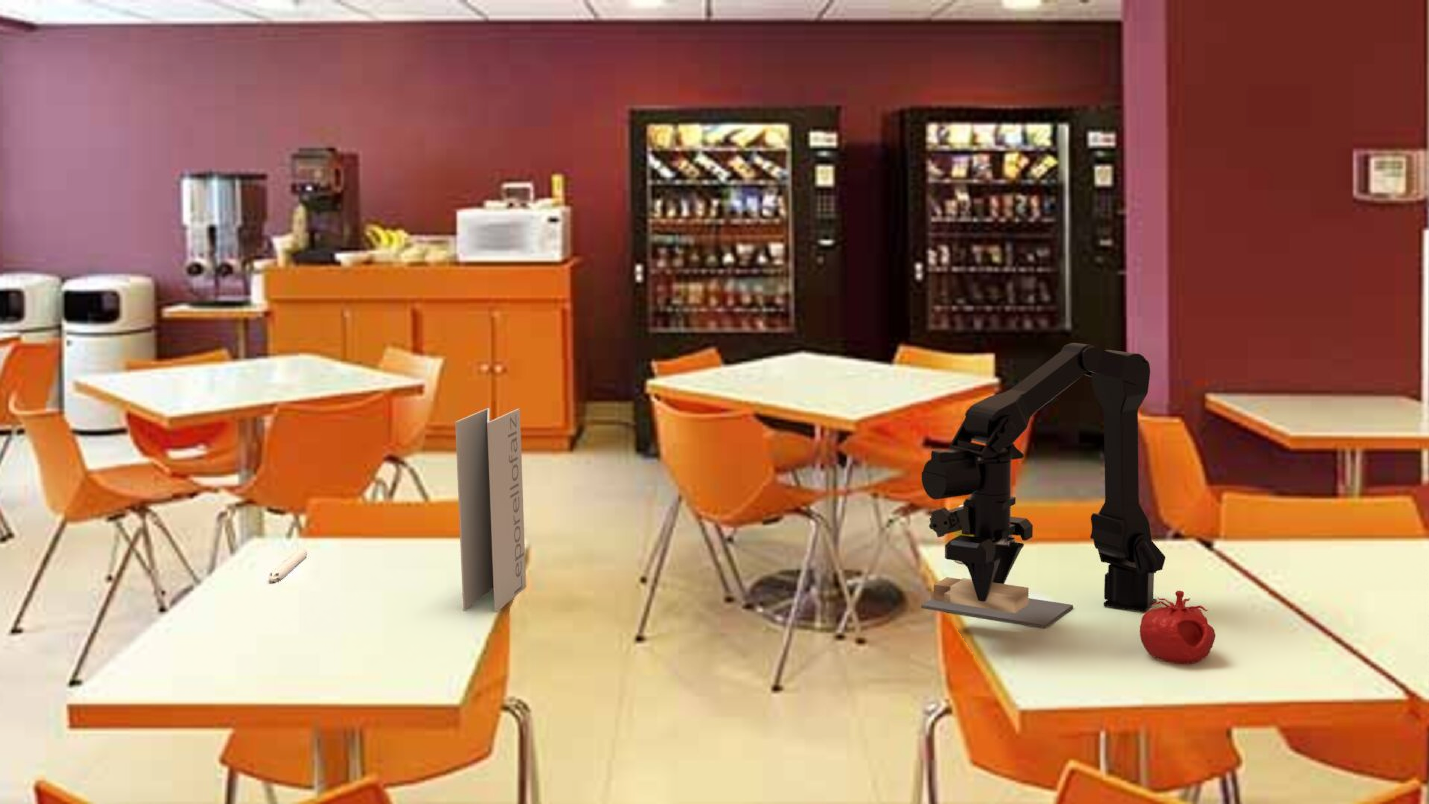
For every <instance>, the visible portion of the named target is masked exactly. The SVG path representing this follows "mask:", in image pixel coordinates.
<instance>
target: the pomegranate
mask: <svg viewBox="0 0 1429 804" xmlns="http://www.w3.org/2000/svg"><path fill="white" fill-rule="evenodd" d="M1184 595H1185V592H1184V591H1182V590H1176V591H1175V596H1176V600H1175V603H1174V602H1172V601H1169V600H1167V599H1166V598H1159V597H1157V599H1158V600H1159V601H1157V602H1156V603H1155V604H1153V605H1149V606H1152V607H1153V606H1156V605H1158V604H1162V605H1163V606H1162V607H1161V606H1160V607H1156V608H1152V609H1150V610H1149V609H1148V610H1147V611H1145V612H1144V613H1143V615H1142V617H1141V622H1140V625H1139V637H1140V640H1141V644H1142V645H1143V647H1144V649H1145V651H1146V652H1147V653H1148V654H1149V655H1150V656H1151V657H1154V658H1155V659H1157V660H1160V661H1164V662H1167V663H1173V664H1178V665H1179V664H1181V665H1191V664H1195V663H1198V662H1200V661H1201V660H1204V659H1206V658H1207V657H1208V655H1210V653H1211V650H1212V649H1213V646H1214V643H1215V640H1216V632H1215V629H1214V628H1213V626H1212V625H1211V624H1209V621H1208V619H1207V616H1205V615H1204V613H1203V612H1202V610H1203V611H1204V612H1208V611H1209V609H1206V608H1205V607H1204V606H1203V605H1196V606H1186V603H1187V602H1190V599H1191V598H1190V597H1188V598H1184ZM1183 598H1184V599H1183ZM1164 601H1165V602H1167V603H1165V602H1164ZM1168 604H1169V605H1168ZM1201 609H1202V610H1201Z"/></svg>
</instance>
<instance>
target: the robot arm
mask: <svg viewBox="0 0 1429 804" xmlns="http://www.w3.org/2000/svg"><path fill="white" fill-rule="evenodd" d="M1084 376H1088V377H1091V383H1092V390H1093V393H1094V395H1095V396H1096V398H1097V400H1098V402H1099V405H1100V406H1101V407H1102V410H1103V433H1104V434H1103V438H1104V439H1103V440H1104V442H1103V446H1104V447H1103V448H1104V451H1103V453H1104V493H1105V494H1104V503H1103V504H1102V506H1101V508H1100V510H1099V511H1098V512H1093V513H1091V516H1090V523H1091V533H1090V537H1089V538H1090V539H1091V540H1093V545H1094V548H1095V549H1096V550H1097V553H1098V556H1099V559H1100V562H1101V563H1106V564H1108V565H1107V566H1108V569H1107V570H1108V571H1107V572H1106V573H1105V574H1104V588H1103V589H1104V594H1103V599H1104V600H1105V601H1104V602H1103V607H1108V608H1114V609H1120V610H1121V609H1122V610H1128V611H1129V610H1130V611H1135V612H1141V613H1146V612H1147V611H1149V609H1151V608H1152V607H1153V606H1154V605H1153V604H1155V603H1156V602H1158V601H1157V599H1158V598H1154V588H1155V587H1154V585H1155V584H1154V582H1155V578H1154V577H1155V574H1156V573H1157V572H1159V571H1162V570H1163V569H1164V564H1165V561H1166V555H1164V553H1163V552H1162V551H1161V550H1160V548H1158V545H1156V544H1155V543H1154V541H1153V539H1152V532H1151V527H1150V525H1151V524H1150V520H1149V519H1148V516H1147V515H1146V513H1145V511H1144V509H1143V507H1142V506H1141V504H1140V499H1139V492H1140V491H1139V484H1140V483H1139V415H1138V414H1139V410H1140V407H1141V406H1142V404H1143V402H1144V400H1145V398H1146V396H1147V395H1148V392H1149V385H1150V379H1151V378H1150V377H1151V367H1150V362H1149V361H1148V360H1147V359H1146V357H1144V355H1142V354H1141V353H1137V352H1136V353H1135V352H1127V351H1126V352H1125V351H1118V350H1111V349H1105V350H1104V349H1101V348H1099V347H1098V348H1097V347H1095V346H1094V345H1091V344H1087V343H1086V344H1085V343H1077V342H1070V343H1068V344H1065V345H1064V346H1063V347H1062V348H1061V349H1060V352H1058V353H1057V354H1055V355H1054V356H1053V357H1051V358H1050V359H1049V360H1047V361H1046V362H1045V363H1044V364H1042V365H1041V366H1040V367H1038V368H1037V369H1036V370H1034V371H1033V372H1032V373H1030V374H1029V375H1028V376H1026V377H1025V378H1024V379H1022V380H1021V381H1020V382H1019V383H1017V384H1016V385H1014V386H1013V387H1012V388H1011V389H1009V390H1006V391H1005V392H1002V393H998V394H993V395H990V396H988V397H987V396H986V398H983V399H982V400H979V401H978V402H976V403H974V404H972V405H970V407H969V408H968V409H967V410H966V411H965V414H964V415H965V418H964V419H963V421H962V423H961V425H960V427H959V428H958V430H957V431H956V434H955V435H954V436H953V438H952V440H951V442H950V444H949V445H948V449H947V450H946V449H945V450H941V449H935V450H932V451H931V453H930V459H929V460H927V461H926V463H925V465H924V467H923V469H922V471H921V483H922V487H923V490H924V491H925V493H926V495H927V496H928V497H929V498H930V499H932V500H942V499H949V498H956V497H964V496H969V497H968V498H965V499H964V500H963V504H962V505H963V506H962V507H959V506H958V507H954V508H950V509H947V508H946V507H942V508H939V509H935V510H932V511H931V515H930V517H929V521H930V523H929V525H928V527H929V529H930V530H932V531H933V532H935V534H936V536H937V538H942V537H945V536H946V535H949V534H953V533H954V532H956V531H960V530H962V534H964V535H959V536H957V537H956V538H954V537H953V538H952V539H950V540H949V541H948V542H947V543H946V544H944V559H946V560H949V561H954V560H955V561H954V562H956V561H961V562H962V563H964V564H963V565H964V566H965V567H966V568H967V570H968V573H969V575H970V579H972V582H973V585H974V589H975V592H976V595H977V599H978V600H979V601H983V602H984V601H986V599H987V597H988V594H989V591H990V588H991V586H992V583H1000V584H1006V581H1007V578H1008V577H1009V574H1010V572H1011V570H1012V569H1013V566H1014V564H1015V563H1016V560H1017V558H1018V557H1019V555H1020V552H1021V550H1022V549H1023V548H1024V546H1025V543H1023V542H1017V541H1016V538H1015V537H1013V536H1018V537H1019V536H1020V538H1021V540H1022V541H1026V542H1027V541H1028V540H1030V539H1032V538H1033V533H1034V531H1033V527H1034V526H1033V524H1032V522H1031V521H1030V520H1029V518H1026V517H1018V516H1011V514H1012V513H1011V510H1012V506H1014V505H1016V503H1017V502H1016V496H1012V460H1020V459H1023V458H1024V456H1025V455H1024V453H1023V452H1021V450H1019V449H1018V448H1017V447H1016V445H1015V442H1016V441H1017V439H1019V438H1020V437H1021V435H1022V434H1024V432H1026V429H1028V427H1029V423H1030V420H1031V417H1033V416H1034V414H1035V413H1037V412H1038V411H1039V410H1040V409H1042V408H1043V407H1044V406H1045V405H1047V404H1048V403H1050V402H1051V401H1053V399H1055V398H1056V397H1057V396H1059V395H1060V394H1061V393H1062V392H1064V391H1065V390H1067V389H1068V388H1069V387H1071V385H1073V384H1074V383H1075V382H1077V381H1078V380H1080V378H1082V377H1084ZM983 444H984V445H983ZM966 535H974V536H966ZM962 563H961V564H962ZM1149 605H1153V606H1149Z"/></svg>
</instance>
